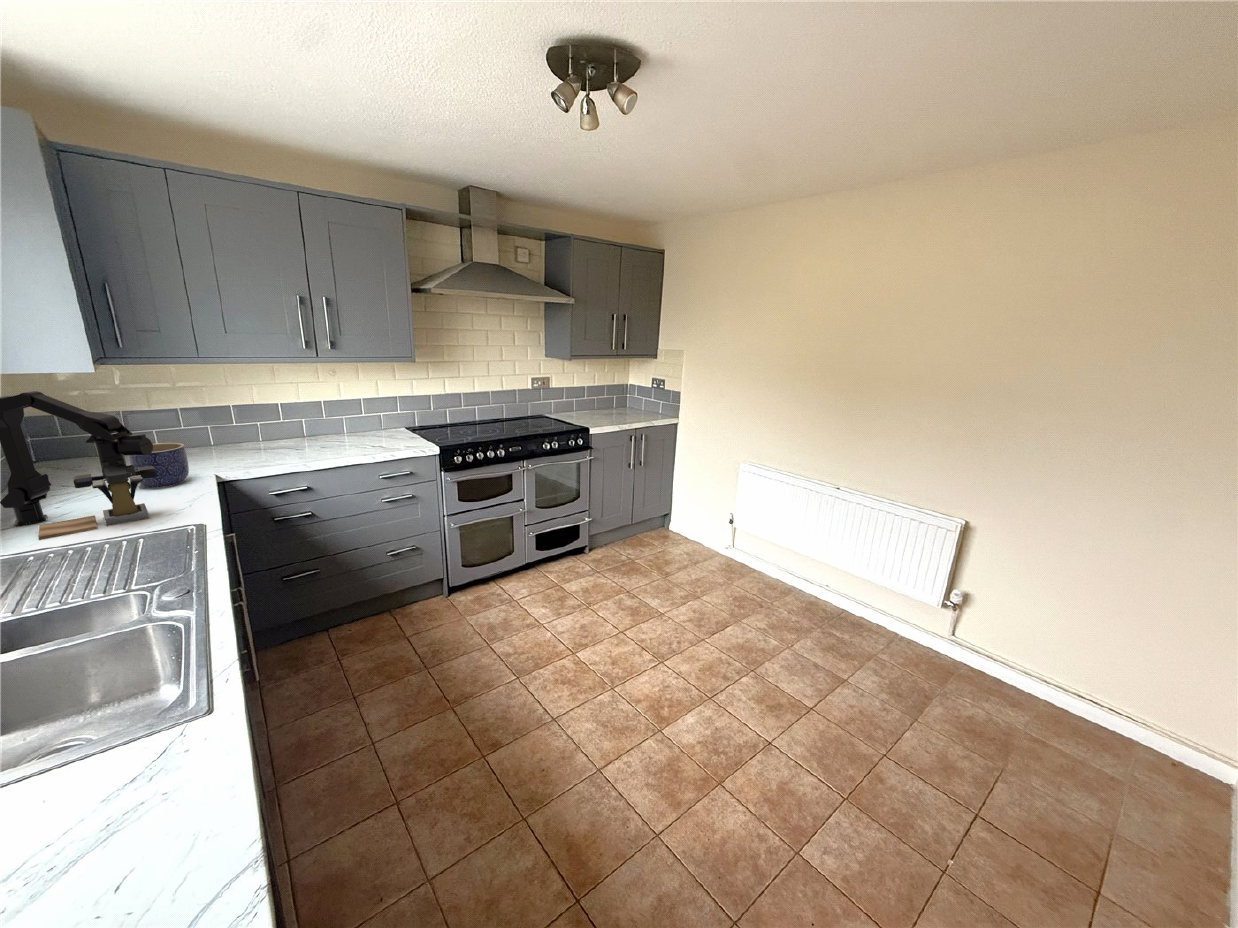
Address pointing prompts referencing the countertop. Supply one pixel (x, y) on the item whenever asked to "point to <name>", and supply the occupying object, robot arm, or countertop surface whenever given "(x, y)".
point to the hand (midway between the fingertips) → (122, 501)
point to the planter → (164, 464)
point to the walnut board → (67, 527)
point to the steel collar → (125, 516)
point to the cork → (122, 499)
